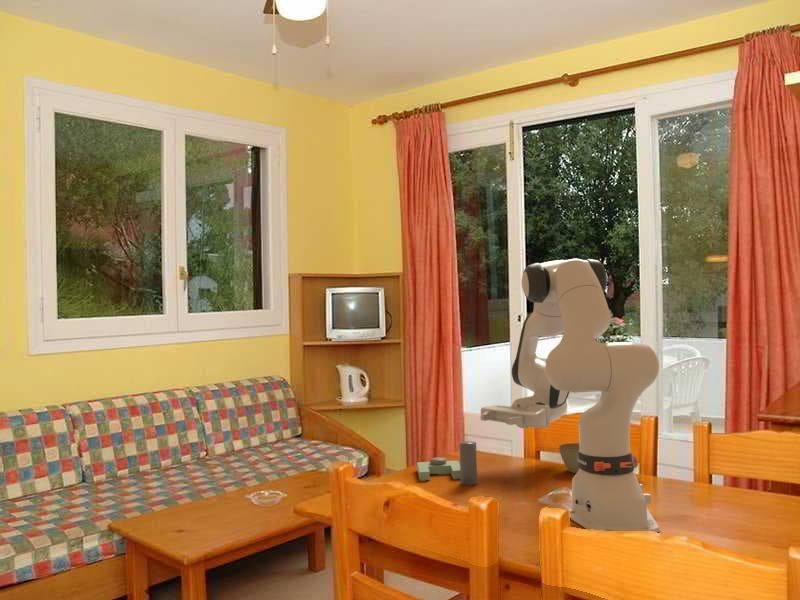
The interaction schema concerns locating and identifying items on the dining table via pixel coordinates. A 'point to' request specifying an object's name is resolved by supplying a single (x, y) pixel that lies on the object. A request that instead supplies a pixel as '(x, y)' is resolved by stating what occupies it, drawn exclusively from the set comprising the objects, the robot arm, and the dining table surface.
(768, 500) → the dining table surface
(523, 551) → the dining table surface
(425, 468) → the green footed base
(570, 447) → the flower pot
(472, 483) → the grey tall cylinder
